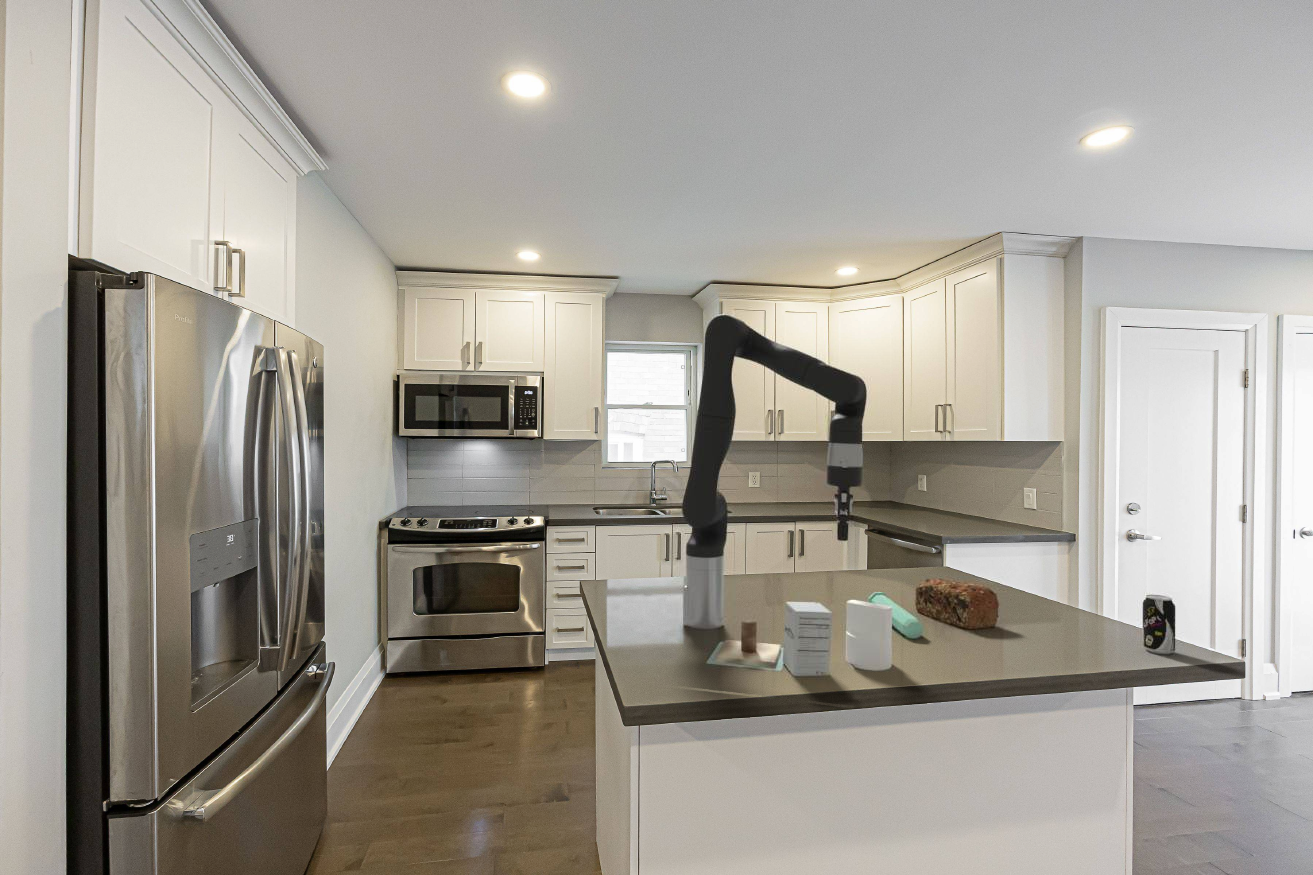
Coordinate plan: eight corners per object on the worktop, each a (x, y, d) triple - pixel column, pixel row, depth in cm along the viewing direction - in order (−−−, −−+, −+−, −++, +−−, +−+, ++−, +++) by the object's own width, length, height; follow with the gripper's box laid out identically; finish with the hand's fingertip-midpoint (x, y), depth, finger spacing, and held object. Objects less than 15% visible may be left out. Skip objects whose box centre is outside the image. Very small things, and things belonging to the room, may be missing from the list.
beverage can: (1136, 649, 149) (1136, 594, 149) (1152, 646, 151) (1153, 592, 151) (1164, 657, 143) (1165, 600, 143) (1181, 653, 146) (1181, 598, 146)
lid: (714, 661, 137) (715, 626, 137) (725, 644, 148) (725, 612, 148) (774, 667, 134) (774, 632, 134) (780, 649, 145) (780, 616, 145)
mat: (706, 664, 136) (706, 662, 136) (720, 643, 150) (720, 641, 150) (781, 672, 132) (781, 670, 132) (788, 649, 146) (788, 647, 146)
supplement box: (781, 663, 136) (784, 600, 136) (817, 663, 137) (820, 601, 137) (791, 676, 129) (795, 610, 129) (829, 677, 129) (833, 611, 129)
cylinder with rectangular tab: (837, 662, 138) (838, 604, 138) (858, 652, 145) (858, 596, 145) (880, 673, 132) (880, 612, 132) (899, 662, 138) (899, 604, 138)
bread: (1000, 628, 165) (1000, 587, 165) (964, 631, 162) (965, 590, 162) (945, 609, 183) (945, 572, 183) (912, 612, 180) (913, 574, 180)
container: (922, 614, 154) (884, 587, 179) (898, 623, 154) (863, 596, 179) (932, 637, 154) (892, 608, 179) (908, 647, 154) (872, 616, 179)
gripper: (827, 462, 156) (825, 532, 157) (826, 464, 143) (824, 541, 143) (861, 463, 154) (859, 534, 155) (863, 466, 141) (861, 543, 141)
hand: (842, 537), depth 149 cm, fingers open, 8 cm apart
